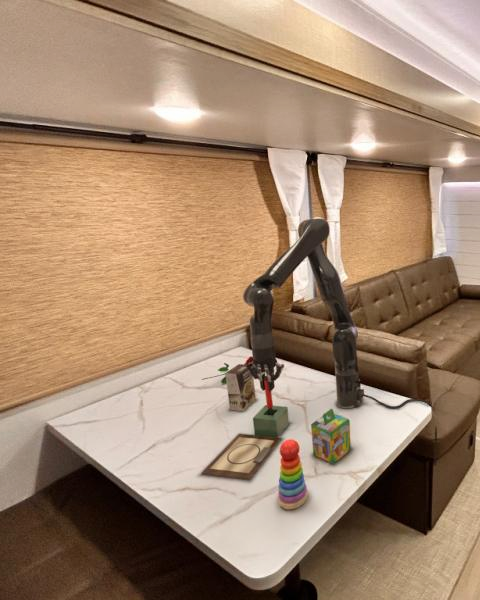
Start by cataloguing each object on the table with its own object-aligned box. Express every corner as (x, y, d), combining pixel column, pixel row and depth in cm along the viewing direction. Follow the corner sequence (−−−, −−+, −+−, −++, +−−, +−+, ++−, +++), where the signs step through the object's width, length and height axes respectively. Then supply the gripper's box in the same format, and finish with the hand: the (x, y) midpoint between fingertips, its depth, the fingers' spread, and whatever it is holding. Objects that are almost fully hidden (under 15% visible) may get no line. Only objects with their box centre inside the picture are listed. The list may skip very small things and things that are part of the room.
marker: (274, 407, 135) (270, 375, 131) (271, 411, 133) (267, 378, 129) (269, 407, 135) (265, 375, 132) (266, 410, 133) (262, 378, 130)
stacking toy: (274, 511, 100) (267, 450, 95) (283, 488, 107) (277, 431, 103) (304, 510, 100) (298, 450, 95) (310, 488, 107) (306, 431, 103)
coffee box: (243, 411, 147) (239, 374, 143) (229, 410, 149) (224, 373, 144) (256, 400, 156) (252, 364, 152) (243, 398, 157) (238, 363, 153)
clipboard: (281, 439, 130) (281, 436, 130) (250, 480, 111) (249, 476, 111) (239, 435, 132) (238, 431, 132) (201, 474, 113) (200, 470, 113)
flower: (204, 367, 161) (265, 350, 185) (195, 371, 167) (256, 355, 190) (210, 387, 160) (271, 368, 184) (201, 391, 166) (261, 372, 189)
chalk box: (333, 465, 117) (330, 423, 113) (312, 455, 122) (309, 415, 118) (352, 449, 124) (350, 409, 121) (331, 440, 129) (329, 402, 125)
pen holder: (289, 423, 139) (287, 406, 137) (277, 437, 131) (276, 420, 129) (267, 421, 141) (265, 404, 139) (254, 435, 132) (252, 418, 130)
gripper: (238, 346, 125) (244, 393, 129) (276, 349, 123) (281, 396, 127) (250, 338, 132) (255, 383, 136) (287, 341, 130) (291, 386, 134)
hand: (267, 389), depth 132 cm, fingers closed on marker, 2 cm apart
